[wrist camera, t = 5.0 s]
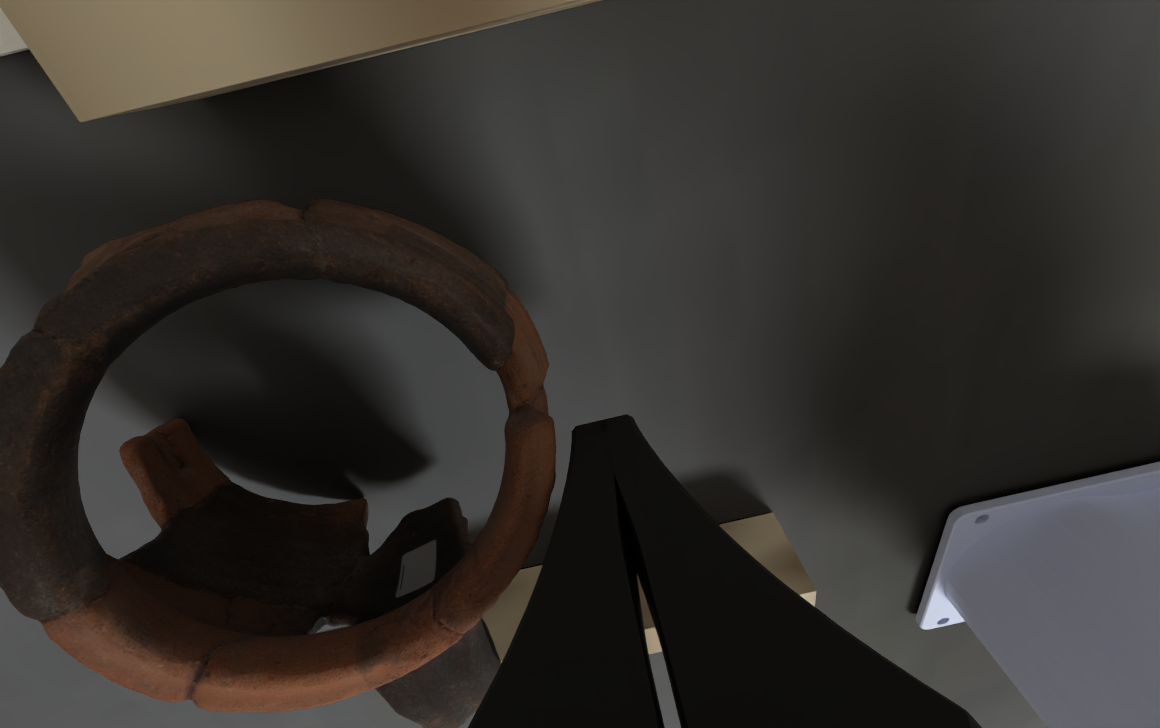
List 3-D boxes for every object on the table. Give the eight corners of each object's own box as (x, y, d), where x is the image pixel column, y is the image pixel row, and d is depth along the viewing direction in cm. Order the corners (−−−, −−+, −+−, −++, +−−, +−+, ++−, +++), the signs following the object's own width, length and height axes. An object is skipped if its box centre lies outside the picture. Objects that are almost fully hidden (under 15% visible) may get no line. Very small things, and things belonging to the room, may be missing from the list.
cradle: (787, -161, 8) (908, -247, 6) (772, 538, 18) (813, 617, 16) (141, 0, 8) (-16, -15, 6) (481, 604, 19) (476, 692, 16)
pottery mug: (42, 344, 12) (-502, 411, 4) (401, 175, 15) (447, 37, 7) (344, 677, 15) (331, 1028, 8) (587, 491, 18) (748, 620, 11)
